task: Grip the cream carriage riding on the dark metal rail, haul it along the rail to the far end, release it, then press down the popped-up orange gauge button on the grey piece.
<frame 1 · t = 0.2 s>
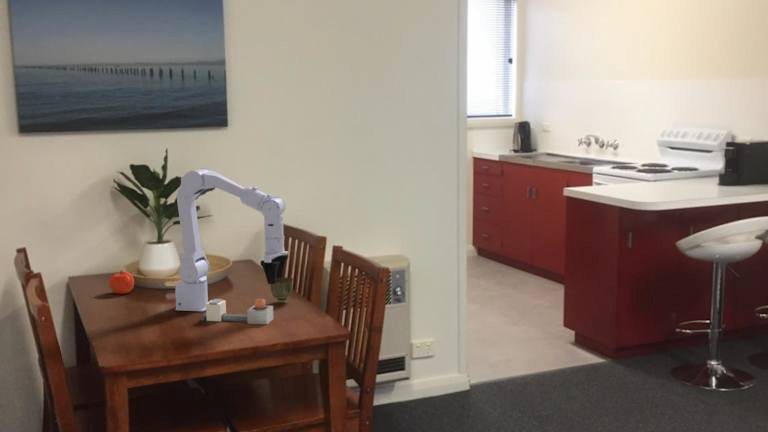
hand: (275, 280, 247), 10 cm above the table, fingers open, 7 cm apart
cup: (282, 303, 259), on the table
apple: (122, 293, 274), on the table
gauge button: (260, 303, 238), point 5 cm above the table, slide at 0.0 cm
carriage: (216, 309, 241), point 3 cm above the table, slide at 0.0 cm
rail: (226, 319, 240), on the table
grey piece: (260, 321, 239), on the table
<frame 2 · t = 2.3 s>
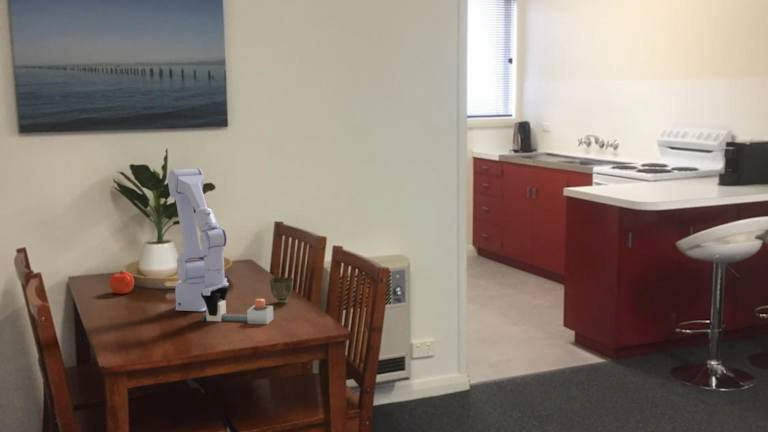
hand: (216, 313, 241), 2 cm above the table, fingers closed on carriage, 5 cm apart
carriage: (216, 309, 241), point 3 cm above the table, slide at 0.0 cm, touching gripper
everything else where it was.
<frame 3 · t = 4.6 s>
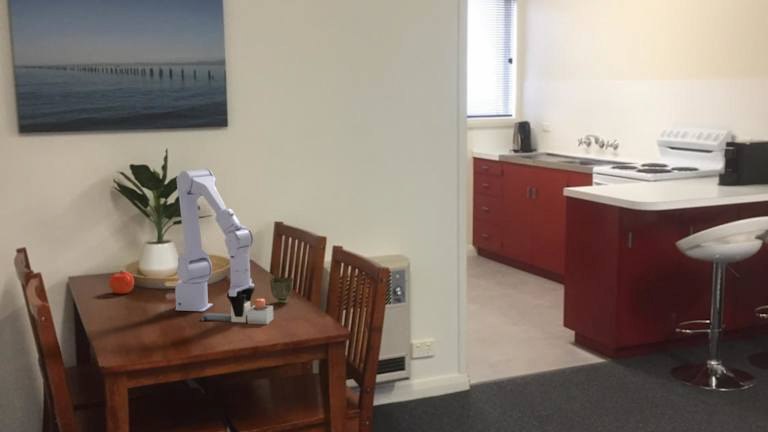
hand: (241, 314, 239), 2 cm above the table, fingers closed on carriage, 5 cm apart
carriage: (240, 310, 239), point 3 cm above the table, slide at 7.8 cm, touching gripper
everything else where it was.
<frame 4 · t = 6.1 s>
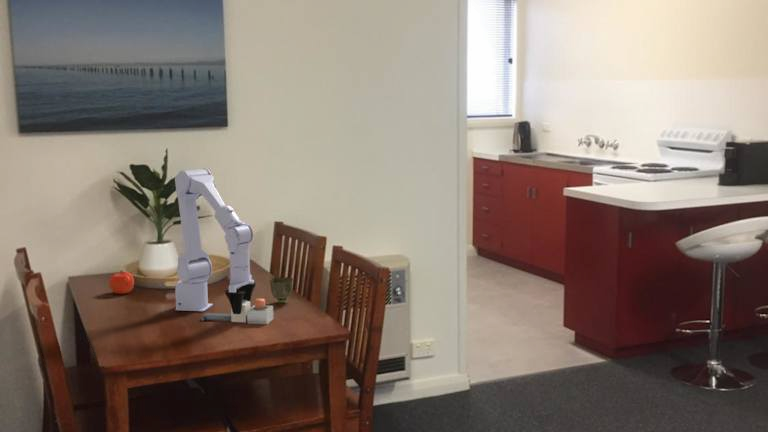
hand: (241, 310, 239), 3 cm above the table, fingers open, 7 cm apart
carriage: (240, 310, 239), point 3 cm above the table, slide at 7.8 cm
everything else where it was.
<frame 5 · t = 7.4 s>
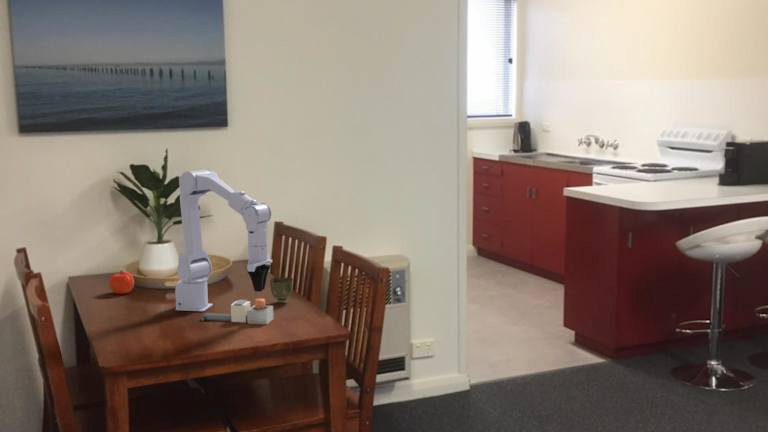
hand: (259, 290, 237), 9 cm above the table, fingers closed
nothing on the table moved.
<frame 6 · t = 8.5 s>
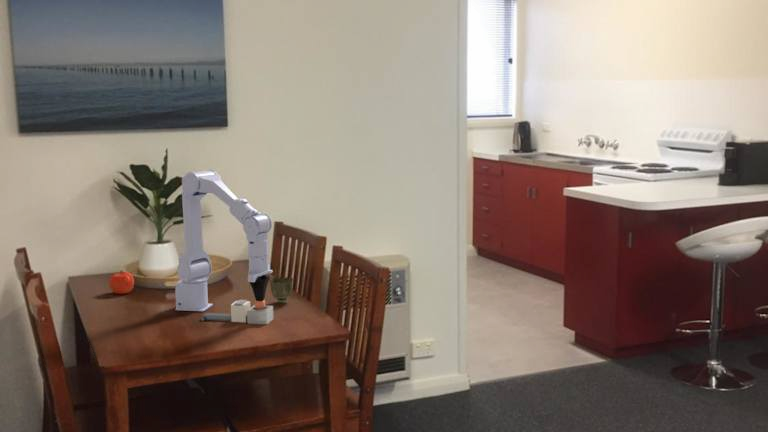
hand: (260, 300, 238), 6 cm above the table, fingers closed, pressing on gauge button
gauge button: (260, 304, 238), point 5 cm above the table, slide at 0.2 cm, touching gripper
everything else where it was.
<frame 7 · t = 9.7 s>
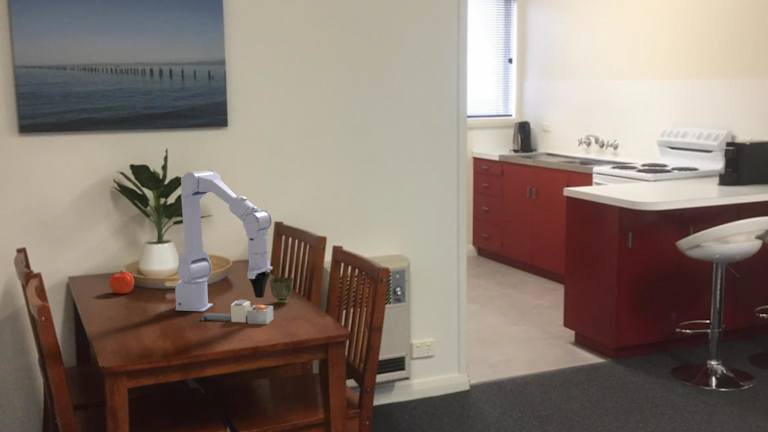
hand: (259, 297, 238), 7 cm above the table, fingers closed
gauge button: (260, 309, 238), point 3 cm above the table, slide at 1.9 cm
everything else where it was.
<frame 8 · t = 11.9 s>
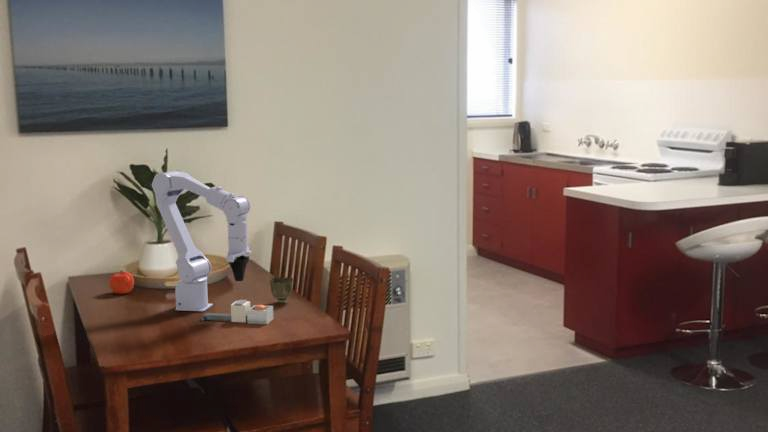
hand: (239, 280, 245), 10 cm above the table, fingers closed
nothing on the table moved.
at the end: carriage slide at 7.8 cm; gauge button slide at 1.9 cm; the gripper is holding nothing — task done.
